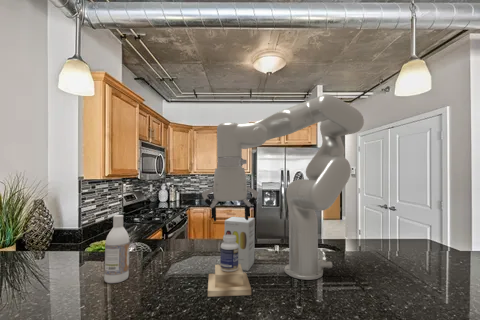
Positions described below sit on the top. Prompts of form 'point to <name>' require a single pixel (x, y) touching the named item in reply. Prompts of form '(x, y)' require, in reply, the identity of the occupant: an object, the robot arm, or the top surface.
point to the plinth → (228, 289)
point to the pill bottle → (229, 254)
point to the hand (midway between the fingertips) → (230, 219)
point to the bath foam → (117, 252)
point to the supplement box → (242, 239)
